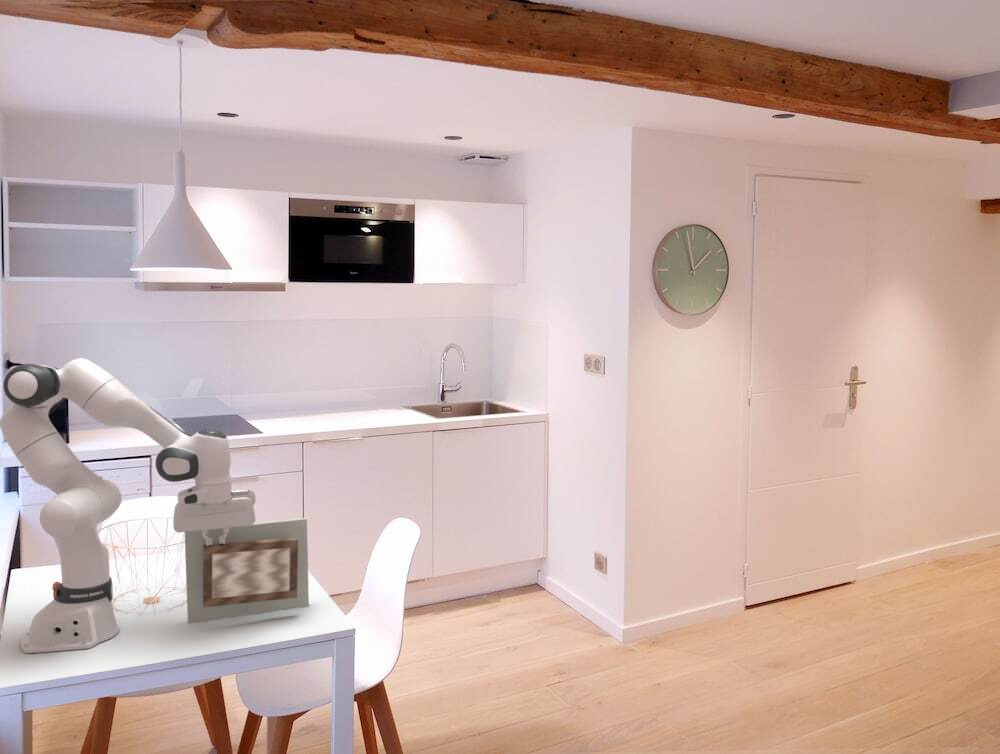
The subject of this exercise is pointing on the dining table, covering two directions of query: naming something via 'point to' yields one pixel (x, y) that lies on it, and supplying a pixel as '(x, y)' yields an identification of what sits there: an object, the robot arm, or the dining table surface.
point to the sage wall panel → (240, 534)
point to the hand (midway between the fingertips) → (215, 544)
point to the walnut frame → (250, 571)
